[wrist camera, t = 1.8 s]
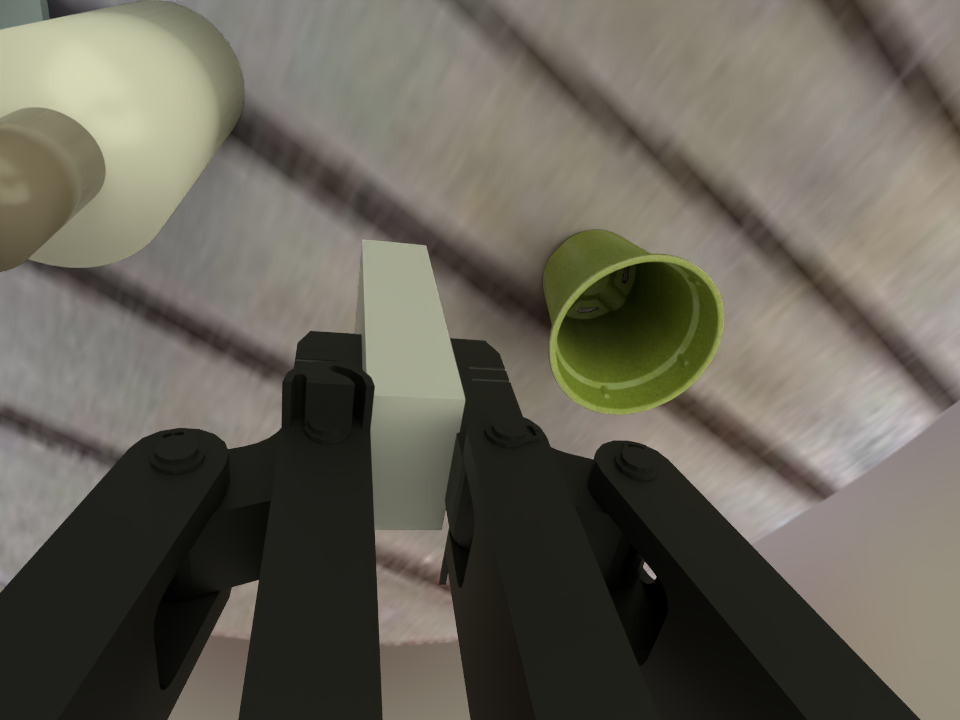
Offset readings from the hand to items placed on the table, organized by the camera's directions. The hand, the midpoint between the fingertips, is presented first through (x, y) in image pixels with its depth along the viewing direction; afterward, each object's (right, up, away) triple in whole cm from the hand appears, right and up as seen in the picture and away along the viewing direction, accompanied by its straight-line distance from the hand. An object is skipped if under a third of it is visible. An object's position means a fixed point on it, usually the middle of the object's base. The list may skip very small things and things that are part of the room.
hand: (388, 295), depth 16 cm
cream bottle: (-13, +12, +16) cm, 24 cm away
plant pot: (+9, +4, +26) cm, 28 cm away
